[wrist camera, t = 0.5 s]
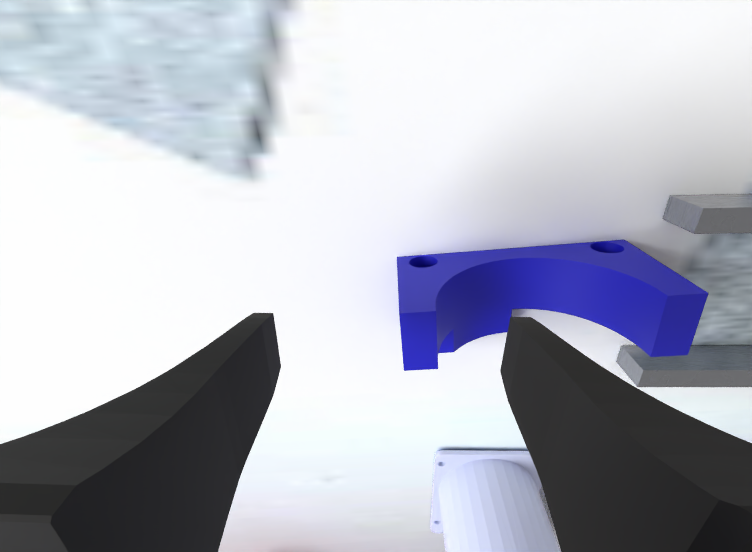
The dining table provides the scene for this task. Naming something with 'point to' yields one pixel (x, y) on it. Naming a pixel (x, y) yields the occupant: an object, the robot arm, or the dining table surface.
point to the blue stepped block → (543, 296)
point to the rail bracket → (702, 361)
